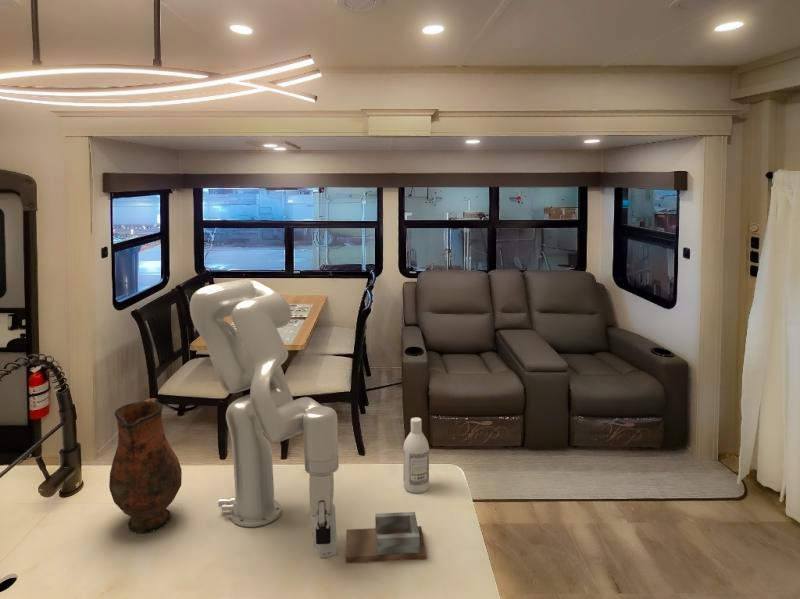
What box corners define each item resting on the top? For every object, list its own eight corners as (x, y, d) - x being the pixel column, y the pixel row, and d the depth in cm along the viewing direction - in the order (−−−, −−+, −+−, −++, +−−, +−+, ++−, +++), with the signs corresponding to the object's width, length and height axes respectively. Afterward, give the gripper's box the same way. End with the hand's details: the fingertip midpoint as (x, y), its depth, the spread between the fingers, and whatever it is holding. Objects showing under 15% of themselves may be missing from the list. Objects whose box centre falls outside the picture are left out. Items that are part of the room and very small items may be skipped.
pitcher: (102, 542, 151) (89, 423, 145) (133, 496, 172) (122, 390, 166) (174, 539, 152) (163, 421, 146) (196, 494, 173) (188, 389, 167)
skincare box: (338, 554, 146) (337, 506, 144) (319, 559, 144) (318, 510, 142) (329, 540, 152) (327, 493, 149) (311, 545, 150) (309, 498, 147)
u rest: (346, 563, 143) (345, 540, 142) (346, 535, 154) (345, 514, 153) (426, 558, 144) (426, 536, 143) (421, 531, 155) (421, 510, 154)
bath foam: (434, 488, 176) (434, 419, 171) (414, 496, 171) (414, 426, 167) (417, 479, 181) (417, 412, 177) (398, 486, 177) (397, 418, 172)
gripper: (307, 445, 152) (310, 514, 155) (301, 481, 135) (305, 557, 138) (339, 444, 152) (341, 512, 156) (337, 479, 135) (340, 555, 139)
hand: (324, 533), depth 147 cm, fingers closed on skincare box, 7 cm apart
